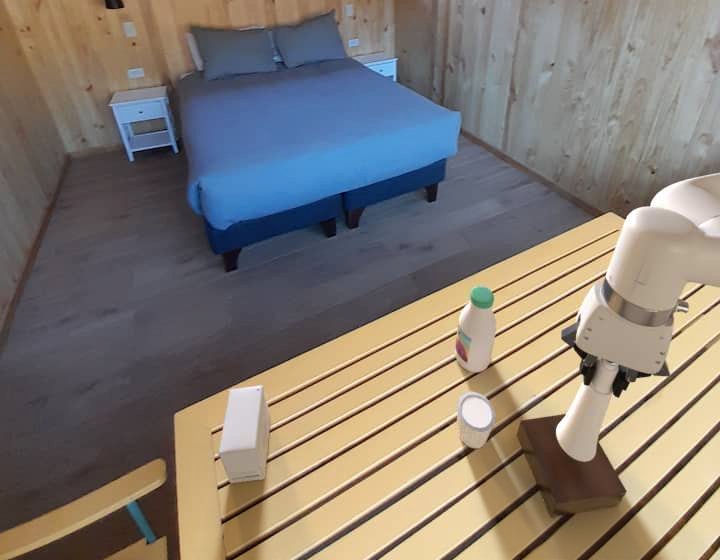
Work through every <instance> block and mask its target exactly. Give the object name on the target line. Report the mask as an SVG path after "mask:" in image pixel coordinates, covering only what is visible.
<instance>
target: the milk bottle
mask: <svg viewBox="0 0 720 560" xmlns="http://www.w3.org/2000/svg"><path fill="white" fill-rule="evenodd" d="M494 301H495V296H494V293H493V291H492V290H491V289H489V288H487V287H486V286H484V285H483V286H482V285H477V286H474V287H473V288H472V289H471V290H470V294H469V303H468V304H466V305H465V306H464V308H462V310H461V312H460V315H459V317H458V318H459V319H458V324H457V331H456V336H455V337H456V339H455V344H454V356H455V359H456V362H457V363H458V365H460V366H461V367H462V368H463V369H464V370H466V371H467V372H471V373H481V372H483V371H485V370H486V369H487V368H489V365H490V362H491V360H492V359H491V358H492V354H493V349H494V343H495V338H496V331H497V319H496V315H495V314H494V312H493V306H494Z"/></svg>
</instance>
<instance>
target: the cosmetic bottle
mask: <svg viewBox="0 0 720 560" xmlns="http://www.w3.org/2000/svg"><path fill="white" fill-rule="evenodd" d="M618 370H619V367H618V364H616V363H614V362H611V361H608V360H605V359H602V358H600V357H598V358H597V360H596V361H595V373H594V376H593V378H592V380H591V383H590V385H588V386H586V385H584V383H583V382H582V383H581V385H580V387H579V388H578V391H577V393H576V396H575V398H574V399H573V402H572V404H571V406H569V409H568V411H567V412H566V413H565V414H566V416H565V417H564V418H563V420H562V421H561V422H560V423H559V424H558V426H557V429H556V436H557V440H558V442H559V444H560V446H561V447H562V449H563V450H564V451H565V452H566V453H567V454H568V455H569V456H571V457H572V458H574V459H576V460H578V461H583V462H586V461H590V460H592V459H593V458H594V456H595V454H596V447H597V440H598V441H599V435H600V432H601V428H602V426H603V422H604V420H605V417H606V413H607V411H608V408H609V405H610V403H611V400H612V397H613V389H612V384H613V382H614V379H615V377H616V375H617V373H618Z"/></svg>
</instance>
